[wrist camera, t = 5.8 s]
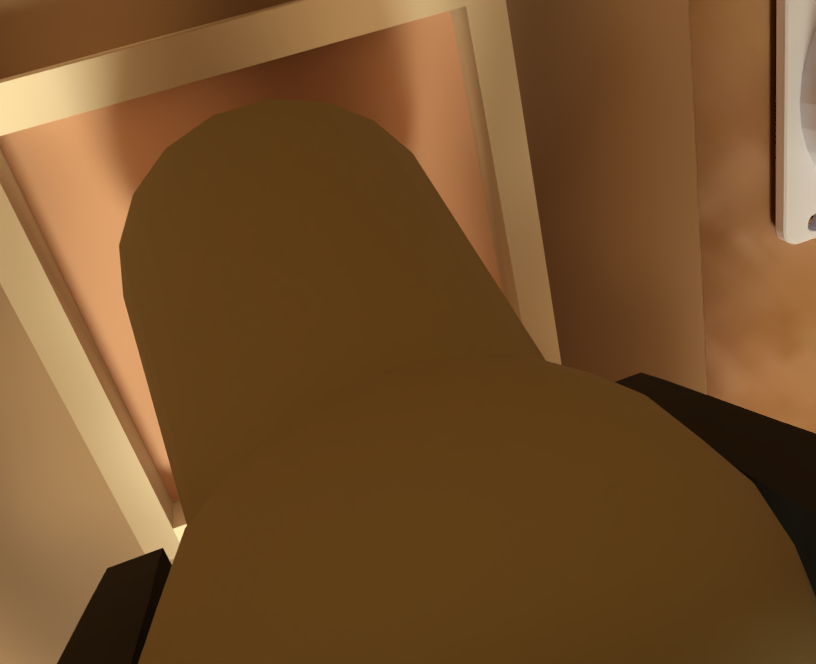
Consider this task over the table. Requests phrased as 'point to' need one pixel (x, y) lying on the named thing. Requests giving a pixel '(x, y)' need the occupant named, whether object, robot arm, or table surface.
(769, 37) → the table surface
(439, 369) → the cork
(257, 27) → the coaster board
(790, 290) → the table surface
